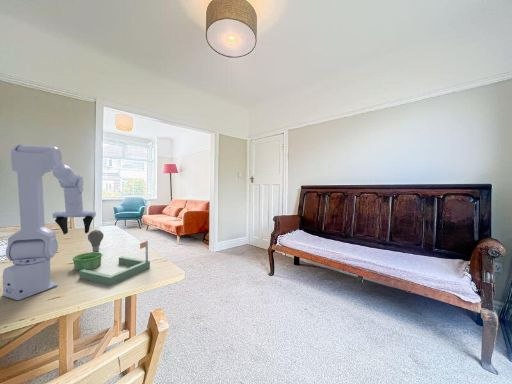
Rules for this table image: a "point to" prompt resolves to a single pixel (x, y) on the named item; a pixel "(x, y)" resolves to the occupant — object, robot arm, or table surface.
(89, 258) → the ramekin
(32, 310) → the table surface
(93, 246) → the light bulb
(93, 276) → the green tray with flag
